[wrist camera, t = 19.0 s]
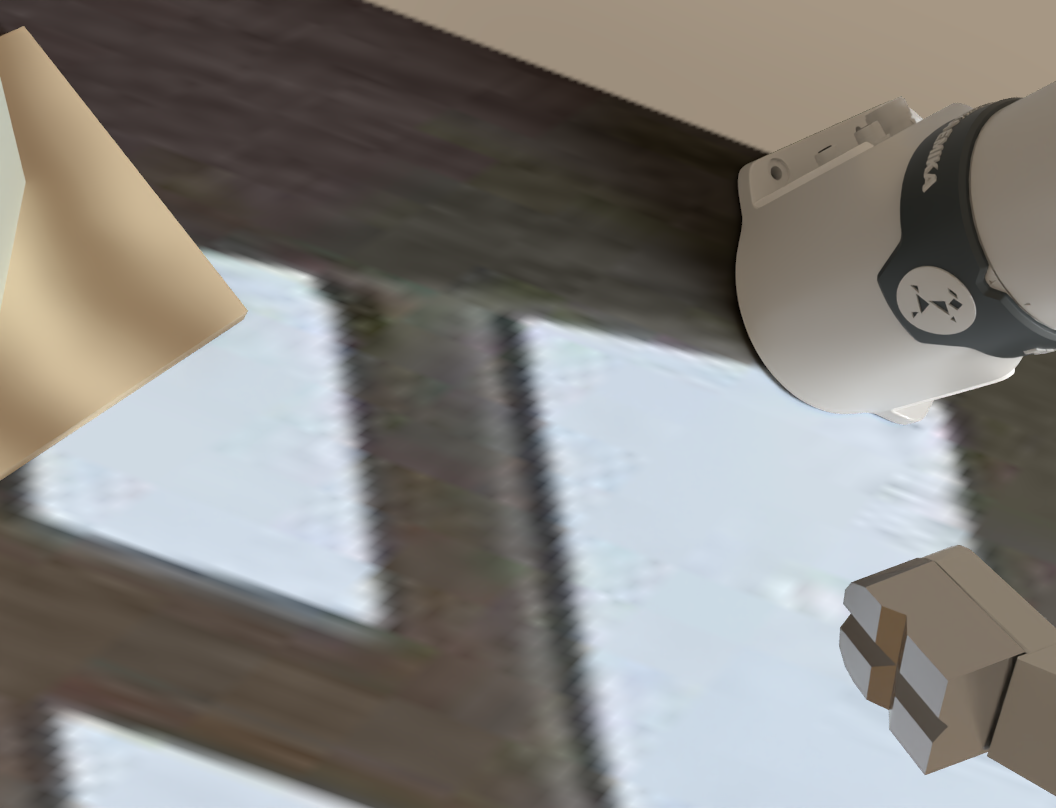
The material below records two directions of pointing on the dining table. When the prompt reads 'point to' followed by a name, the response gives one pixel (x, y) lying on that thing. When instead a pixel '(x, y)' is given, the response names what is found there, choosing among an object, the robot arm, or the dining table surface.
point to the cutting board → (88, 269)
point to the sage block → (8, 189)
